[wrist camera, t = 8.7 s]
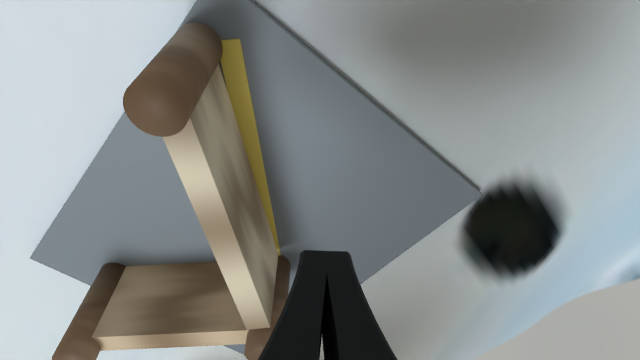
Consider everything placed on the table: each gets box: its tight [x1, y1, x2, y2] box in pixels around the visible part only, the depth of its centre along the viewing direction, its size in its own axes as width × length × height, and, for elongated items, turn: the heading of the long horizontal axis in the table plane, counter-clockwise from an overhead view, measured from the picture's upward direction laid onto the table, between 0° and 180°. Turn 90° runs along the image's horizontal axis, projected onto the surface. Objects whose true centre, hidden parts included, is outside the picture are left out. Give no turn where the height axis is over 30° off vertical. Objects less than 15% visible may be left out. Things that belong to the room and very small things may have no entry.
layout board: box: [30, 0, 482, 354], centre depth 25 cm, size 21×17×1 cm
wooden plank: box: [123, 22, 278, 330], centre depth 19 cm, size 14×2×6 cm, turn 9°
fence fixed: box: [52, 255, 291, 360], centre depth 24 cm, size 12×2×6 cm, turn 95°
